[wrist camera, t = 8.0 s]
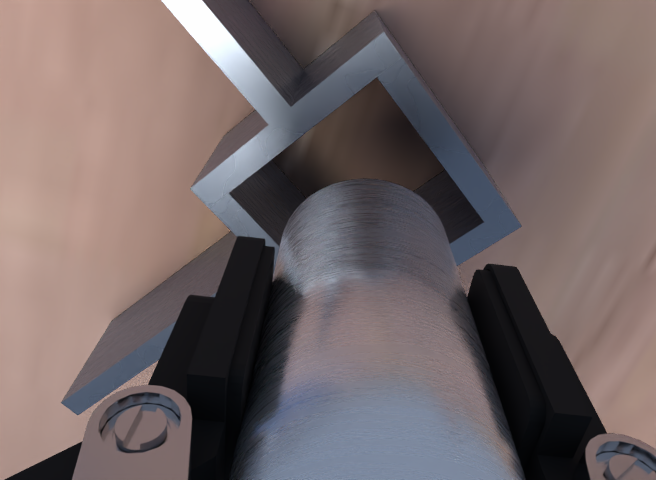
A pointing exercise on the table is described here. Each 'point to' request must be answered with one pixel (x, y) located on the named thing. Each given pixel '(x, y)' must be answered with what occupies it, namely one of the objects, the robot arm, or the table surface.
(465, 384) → the hinge pin
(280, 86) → the grey cross-shaped holder
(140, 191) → the table surface
